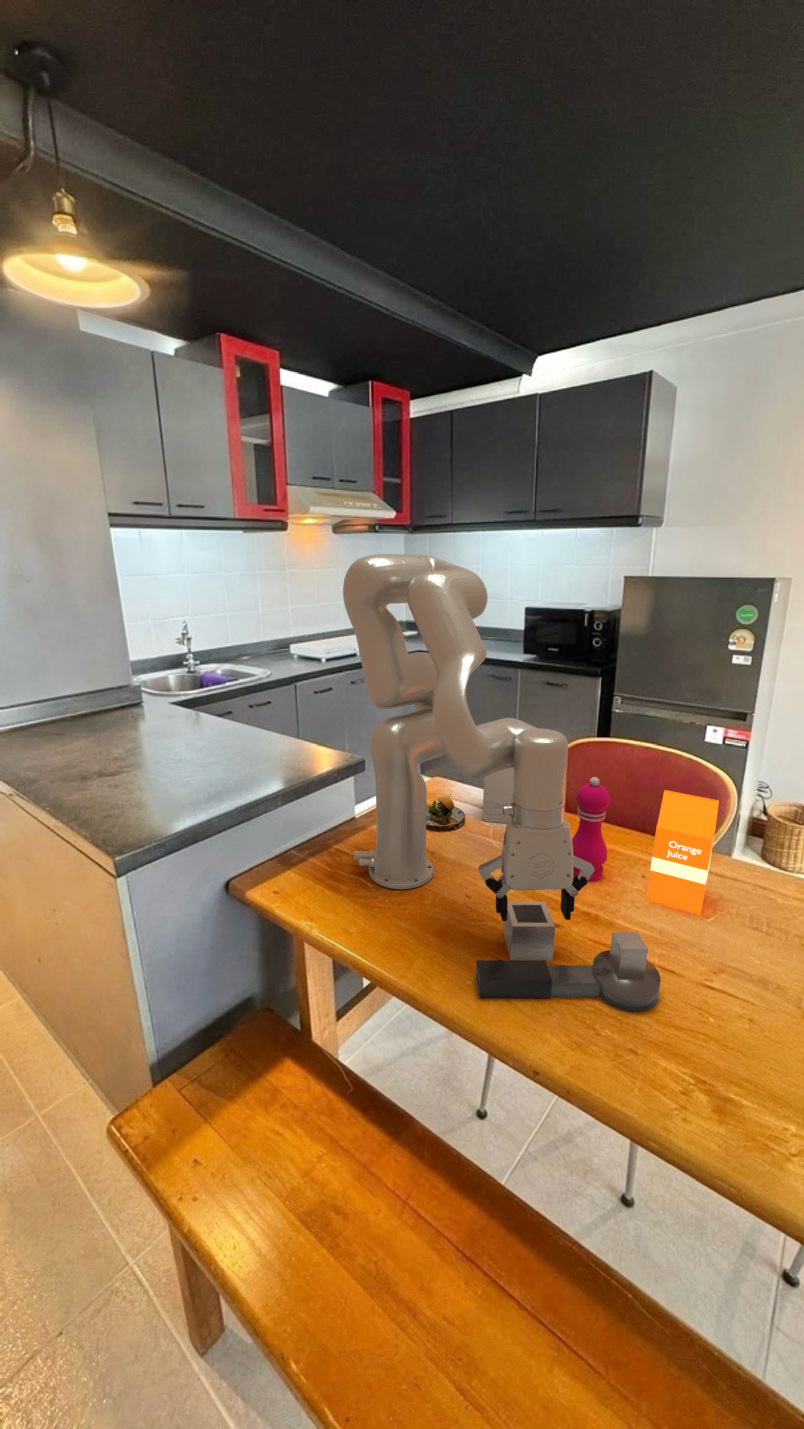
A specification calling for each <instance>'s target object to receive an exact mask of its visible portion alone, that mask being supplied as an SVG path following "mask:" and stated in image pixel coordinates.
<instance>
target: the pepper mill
mask: <svg viewBox="0 0 804 1429" xmlns="http://www.w3.org/2000/svg"><path fill="white" fill-rule="evenodd" d="M575 797H576V798H575V800H576V803H577V804H578V807H577V816H578V817H579V823H578V828H577V830H576V831H575V833H574V836H572V844H573V855H574V856H576V857H578V858H580V859H582V860H585V861H587V862H589V863H591V864H592V866H593V867H594V872H593V874H592V875H591V877H590V878H589V879H588V882H597V881H599V880H601V879H602V877H603V873H604V866H603V865H604V864H605V863H606V861H607V860H608V849H607V845H606V842H605V840H604V838H603V835H602V824H603V821H604V820H605V818H606V813H607V812H606V809H607V808H608V807H609V805H610V802H611V797H610V794H609V791H608V789H606V787H604V785H601V784H600V779H599V778H598V777H597V776H592V777H591V778H590V779H589V783H586V784H582V785H581V787H579V789H578V790H577V791H576V795H575ZM580 871H581V870H580V869H578V868H576V867H574V866H573V878H574V877H575V876H576V875H577V874H579V873H580Z"/></svg>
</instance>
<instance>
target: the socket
mask: <svg viewBox="0 0 804 1429" xmlns="http://www.w3.org/2000/svg"><path fill="white" fill-rule="evenodd" d="M503 922H504V923H503V936H504V941H505V945H506V948H507V951H508V956H509V960H545V961H553V959H554V958H553V957H554V956H553V955H554V945H555V935H556V934H555V933H556V925H555V922H554V920H553V918H552V915H551V912H550V910H549V908H548V905H547V903H546V901H508V905H507V920H506V921H503Z"/></svg>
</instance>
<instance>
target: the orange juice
mask: <svg viewBox="0 0 804 1429" xmlns="http://www.w3.org/2000/svg"><path fill="white" fill-rule="evenodd" d="M719 805H720V800H719V799H712V798H709V797H702V796H698V795H697V796H696V795H692V794H687V793H682V792H678V791H672V790H666V789H664V791H663V794H662V801H661V805H660V810H659V815H658V820H657V824H656V827H655V828H656V829H655V836H654V842H653V849H652V850H653V851H652V856H651V864H650V874H649V880H648V886H647V887H648V888H647V895H646V896H647V898H646V900H647V901H650V902H654V903H657V904H660V905H661V904H662V905H664V906H668V907H671V908H672V907H673V908H675V909H677V910H678V909H679V910H681V911H685V912H688V913H692V914H696V915H697V916H701V913H702V908H703V904H704V899H705V894H706V888H707V882H708V875H709V870H710V864H711V860H712V853H713V852H712V851H713V846H714V840H715V833H716V826H717V818H718V812H719Z"/></svg>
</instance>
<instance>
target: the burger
mask: <svg viewBox="0 0 804 1429" xmlns="http://www.w3.org/2000/svg"><path fill="white" fill-rule="evenodd" d="M451 795H452V793H450V795H449V796H439V797H438V798H437V801H438V802H437V801H436V799H434V800H433V801H432V803H431V804H427V810H426V826H428V827H429V826H430V827H434V828H438V829H439V831H440V832H442V833H445V832H446V833H447V832H450V829H451V828H452V827H453V829H454V830H459V829H460V828H462V826H464V824H466V814H465V812H464V811H463V810H462V809H460V808H459V807H456V806H455V803H454V801H453V800H452V799H451V798H450V796H451Z"/></svg>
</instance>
